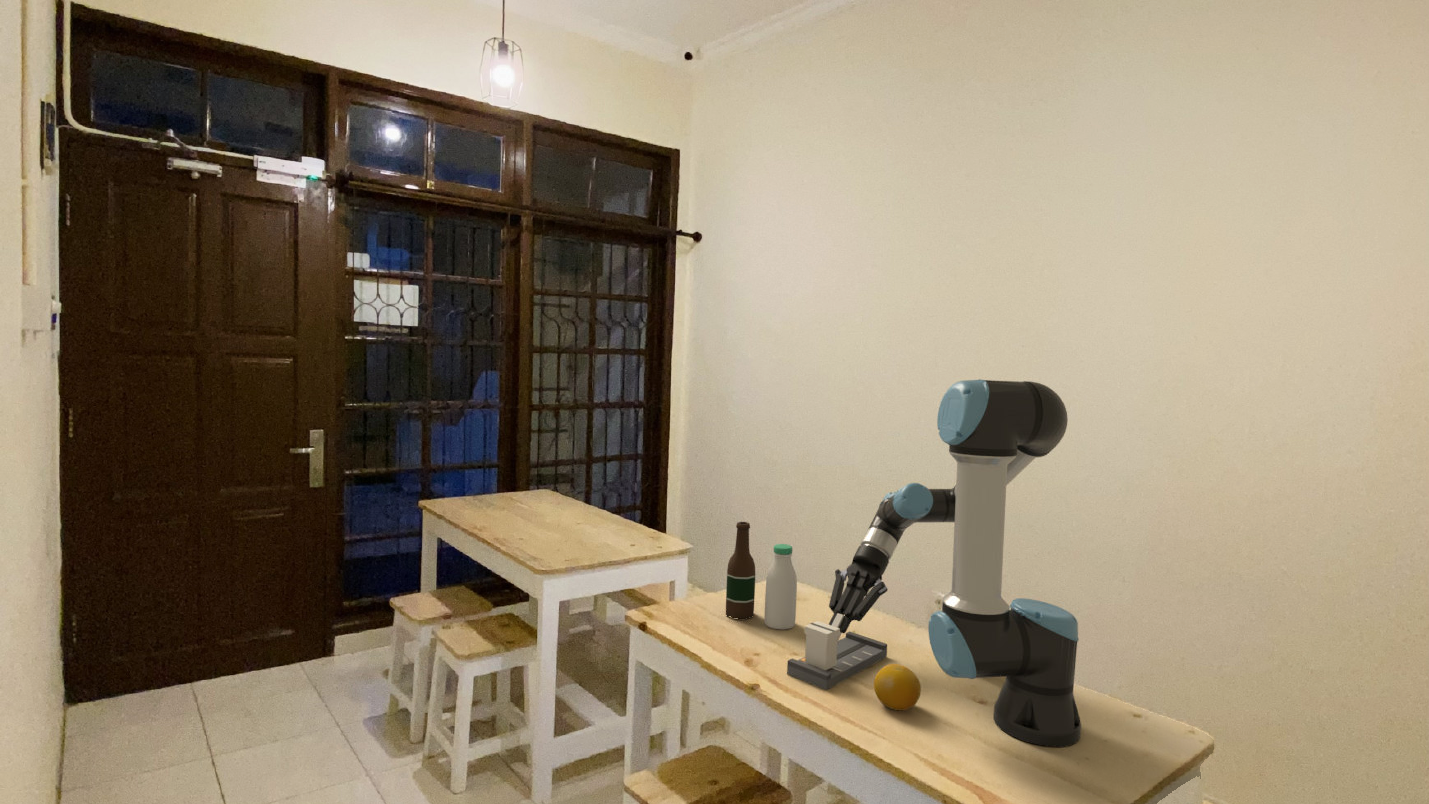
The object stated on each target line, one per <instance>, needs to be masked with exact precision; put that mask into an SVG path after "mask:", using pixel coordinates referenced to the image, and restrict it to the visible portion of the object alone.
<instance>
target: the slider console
mask: <svg viewBox="0 0 1429 804" xmlns="http://www.w3.org/2000/svg"><path fill="white" fill-rule="evenodd" d="M887 654H888V643H886V642H882V641H880V640H877V639H873V638H870V637H867V636H866V635H865V636H864V635H861V634H859V633H855V632H852V631H850V630H849V631H846V632H845V637H843V638H842V639H839V640H838V642H837V657H836V665H835V666H833V667H831V668H830V669H828V670H826V671H825V670H822V669H820V668H817V667H814V666H812V665H809V664H807V663H805V656H804V657H801V658H800V659H795V658H790V659H787V664H786V667H787V669H786V674H787V675H788V676H790V677H793V678H796V679H798V680H800V681H802V682H805V683H808V684H810V685H813V686H815V687H817V688H820V689H822V690H825V691H827V690H829V689H831V688H833V687H835V686H836V685H838V684H840V683H842V682H844V681H845V680H847V679H849V678H851V677H853V676H854V675H856V674H858V673H861V672H862V671H864V670H865V669H867V668H869V667H871V666H873V665H875V664H877V663H878V662H880V661H882V660H883V659H885V658H887V656H888V655H887ZM876 662H877V663H876Z"/></svg>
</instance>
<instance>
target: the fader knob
mask: <svg viewBox="0 0 1429 804" xmlns="http://www.w3.org/2000/svg"><path fill="white" fill-rule="evenodd" d="M803 633H804V635H806V637H805V652H804V653H805V655H804V657H805V663H807V664H809V665H812V666H814V667H817V668H820V669H822V670H825V671H826V670H828V669H830V668H831V667H833V666H835V665H836V657H837V638H838V636H840V628H837V627H834V626H831V625H829V623H828V624H827V623H825V622H823V621H819V620H816V621H814V622H810V623H809V624H807V625H804V632H803ZM840 637H841V636H840Z"/></svg>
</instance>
